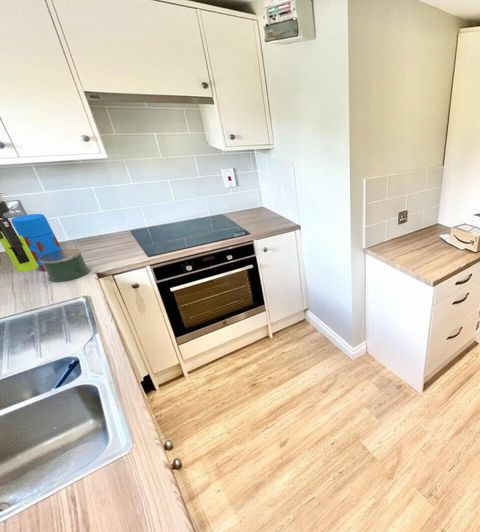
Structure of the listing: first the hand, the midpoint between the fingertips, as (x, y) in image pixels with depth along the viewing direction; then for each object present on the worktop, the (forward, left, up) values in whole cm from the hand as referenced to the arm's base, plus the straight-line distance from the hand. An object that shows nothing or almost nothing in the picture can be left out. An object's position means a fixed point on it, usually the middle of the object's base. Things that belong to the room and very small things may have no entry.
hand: (21, 260), depth 126 cm
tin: (+14, +14, -17) cm, 26 cm away
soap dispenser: (0, 0, -4) cm, 4 cm away
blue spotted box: (+14, +32, -17) cm, 39 cm away
